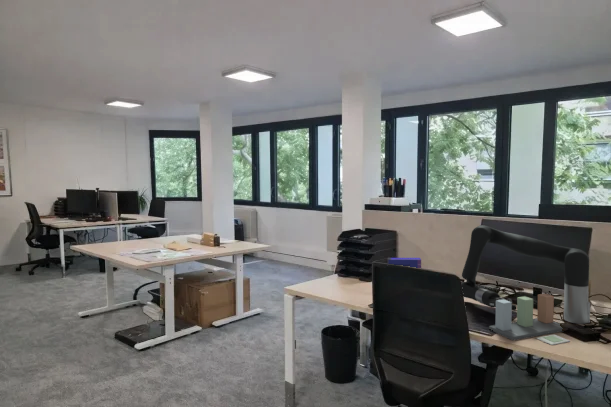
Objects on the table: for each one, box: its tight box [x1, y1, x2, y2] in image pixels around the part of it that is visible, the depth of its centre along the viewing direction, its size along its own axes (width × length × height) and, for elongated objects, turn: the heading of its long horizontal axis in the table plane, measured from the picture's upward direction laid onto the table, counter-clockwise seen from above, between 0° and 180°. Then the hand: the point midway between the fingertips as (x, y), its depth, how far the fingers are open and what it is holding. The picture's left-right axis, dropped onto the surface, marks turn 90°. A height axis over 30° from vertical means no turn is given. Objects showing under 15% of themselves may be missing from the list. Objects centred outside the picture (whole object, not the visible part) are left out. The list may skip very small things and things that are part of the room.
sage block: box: [516, 296, 534, 327], centre depth 176 cm, size 4×4×12 cm
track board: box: [488, 317, 563, 341], centre depth 175 cm, size 31×13×2 cm, turn 108°
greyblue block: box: [494, 298, 513, 331], centre depth 173 cm, size 4×4×12 cm
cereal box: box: [387, 257, 422, 269], centre depth 218 cm, size 17×5×24 cm, turn 84°
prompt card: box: [536, 333, 571, 346], centre depth 164 cm, size 10×7×1 cm
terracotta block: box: [536, 293, 555, 323], centre depth 180 cm, size 4×4×12 cm
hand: (515, 308), depth 181 cm, fingers closed
